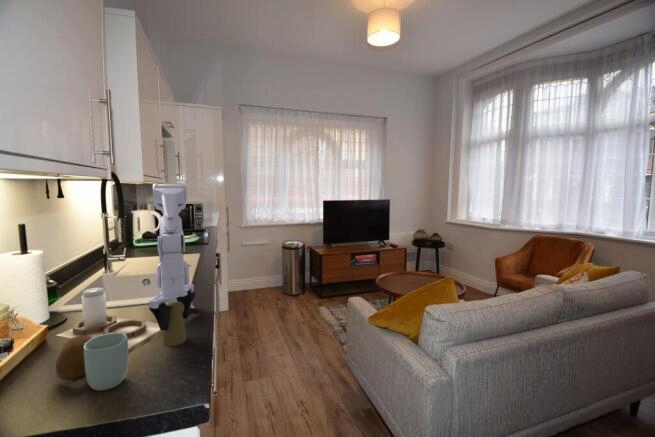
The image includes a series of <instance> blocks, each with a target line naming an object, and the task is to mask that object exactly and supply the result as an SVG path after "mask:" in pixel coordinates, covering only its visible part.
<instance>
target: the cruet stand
mask: <svg viewBox="0 0 655 437" xmlns="http://www.w3.org/2000/svg"><path fill="white" fill-rule="evenodd" d="M110 333H124V334H126V335H127V338H128V353H129V354H131V353H132V352H135V351H136V350H138V349H139V348H142V347H143V346H145V345H146V344H148V343H149V342H151V341H152V340H154V339H156V338H157V337H159V336H161V335H164V330H160V328H159V325H158V322H150V321H146V319H145V320H144V319H138V318H135V319H134V318H131V319H130V318H124V317H117V316H116V315H113V314H111V315H110V314H107V324H105V325H102V326H99V327H93V328H88V329H85V328H84V325H83V319H82V320H79V321H76V323H74V324H73V326H72V328H70V329H68V330H65V331H63V332H61V333H59V334H56V335H55V336H56V337H57V336H58V337H63V338H68V339H72V338H74V337H78V336H90V337H92V338H95V337H97V336H101V335H104V334H110Z"/></svg>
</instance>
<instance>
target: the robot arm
mask: <svg viewBox="0 0 655 437" xmlns="http://www.w3.org/2000/svg"><path fill="white" fill-rule="evenodd" d="M187 194H188V193H187V186H186V184H185V183H181V184H180V183H179V184H177V183H176V184H175V183H174V184H173V183H172V184H171V183H158V184H157V183H154V184H152V198H153V204H154V207H155V210H158V211H161V213H162V216H161V217H160V219H159V236H157V252H158V256H159V262H160V263H158V264H157V266H156V275H155V276H156V288H158V289H160V291H161V292H160V293H159V294H158V295H156V296H155V297H154V298H152V299H150V300H149V303H148V304H149V305H148V310H149V311H150V312H151V313H152V314H153V316H154V318H155V319H156V320H155V321H157V322H156V323H158V325H159V328H160V331H161V330H165V331H167V330H168V328H169V315H170V311H171V308H172V306H167V304H168V303H170V302H181V303H183V305H184V311H183V313H182V315H183V320H186V319H188V317H189V313H190V311H191V309H195V306H194V305H193V301H194V300H195V298H196V292H193V291H195V287H194V286H195V284H193V283H190V270H189V263H188V262H187V261H186V260H184V259H185V258H184V253H186V252H185V251H186V242H185V240H186V238H185V234H184V230H183V220H182V218H181V217H180V214H179V213H180V211H183V210H185V209H186V206H187V202H188V200H187V197H188V196H187ZM182 250H183V252H182Z"/></svg>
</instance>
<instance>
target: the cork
mask: <svg viewBox="0 0 655 437" xmlns="http://www.w3.org/2000/svg"><path fill="white" fill-rule="evenodd" d="M167 306H172V308H171V311H170V315H169V328H168V330H167V331H165V330H164V333H163V338H162V339H163V340H162V344H163V345H164V346H166V347H175V346H179V345H182V344H184V343H185V342H186V341H187V333H186V327H185V321H184V319H183V315H182V313H183V311H184V305H183V303H181V302H170V303H168V304H167Z"/></svg>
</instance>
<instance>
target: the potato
mask: <svg viewBox="0 0 655 437" xmlns="http://www.w3.org/2000/svg"><path fill="white" fill-rule="evenodd" d="M91 339H93V338H92V337H90V336H78V337H74V338H70V340H68V341H66V342H65V343H64V345H63V346H62V348H61V350H60V351H59V354H58V356H57V357H56V358H57V359H56V363H55V372H56V375H57V376H58V378H60V379H61V380H62V381H65V382H66V381H75V380H77V379H78V378H80V379H81V378H84V376H85V377H86V375H85V367H84V353H83V349H84V345H85V344H86V342H88V341H89V340H91Z"/></svg>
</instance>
